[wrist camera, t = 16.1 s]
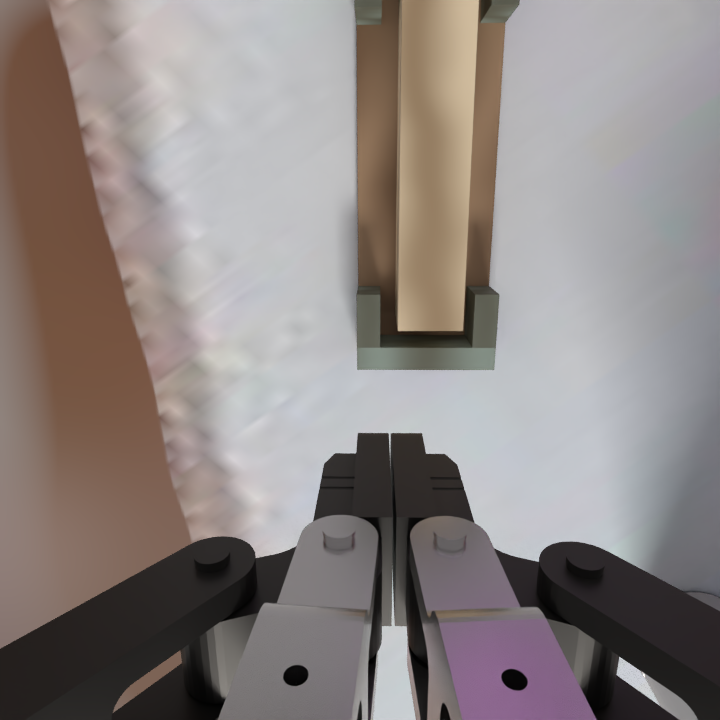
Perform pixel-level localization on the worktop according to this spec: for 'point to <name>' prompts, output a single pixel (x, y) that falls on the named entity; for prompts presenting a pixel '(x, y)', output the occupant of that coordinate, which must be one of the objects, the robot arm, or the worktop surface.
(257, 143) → the worktop surface
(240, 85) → the worktop surface
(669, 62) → the worktop surface
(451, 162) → the slat
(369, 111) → the holder
